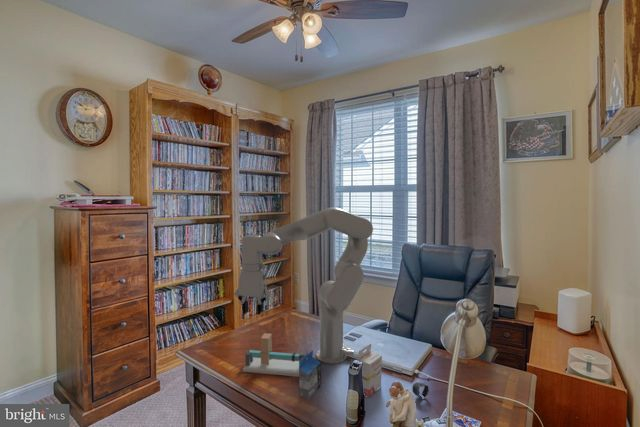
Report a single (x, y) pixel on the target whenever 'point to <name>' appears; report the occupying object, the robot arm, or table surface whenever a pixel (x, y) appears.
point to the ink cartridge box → (370, 370)
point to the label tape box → (309, 376)
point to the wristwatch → (416, 389)
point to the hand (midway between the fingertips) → (252, 312)
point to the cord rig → (274, 363)
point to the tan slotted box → (266, 348)
